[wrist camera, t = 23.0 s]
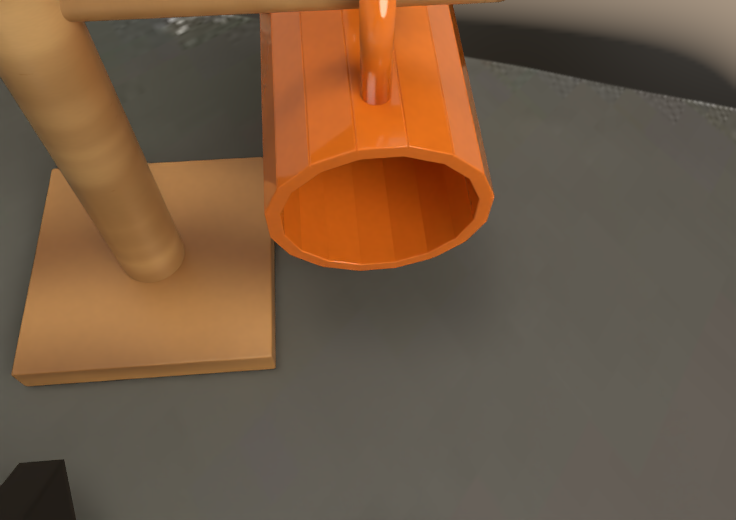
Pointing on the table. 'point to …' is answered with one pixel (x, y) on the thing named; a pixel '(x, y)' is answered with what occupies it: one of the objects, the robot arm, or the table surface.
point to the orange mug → (369, 135)
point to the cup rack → (136, 215)
